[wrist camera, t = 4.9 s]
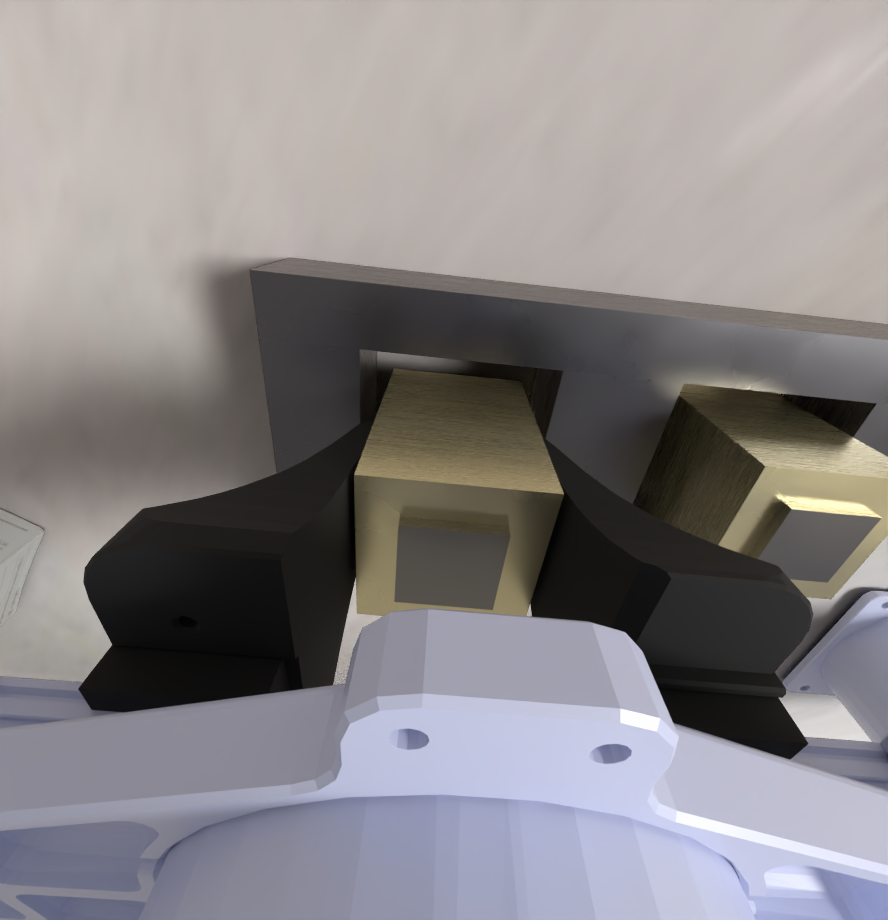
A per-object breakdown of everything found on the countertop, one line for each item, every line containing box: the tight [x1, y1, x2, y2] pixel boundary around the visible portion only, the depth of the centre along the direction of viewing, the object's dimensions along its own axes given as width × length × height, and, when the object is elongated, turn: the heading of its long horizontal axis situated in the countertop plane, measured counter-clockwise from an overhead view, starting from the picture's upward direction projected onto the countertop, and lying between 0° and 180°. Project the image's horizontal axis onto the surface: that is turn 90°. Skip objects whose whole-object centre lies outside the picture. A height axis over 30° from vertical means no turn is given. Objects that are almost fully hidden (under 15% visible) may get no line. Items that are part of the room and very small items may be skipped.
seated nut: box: [636, 383, 888, 599], centre depth 13 cm, size 4×4×6 cm
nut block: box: [354, 369, 564, 616], centre depth 11 cm, size 4×4×6 cm
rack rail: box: [250, 258, 888, 511], centre depth 14 cm, size 20×9×3 cm, turn 84°
